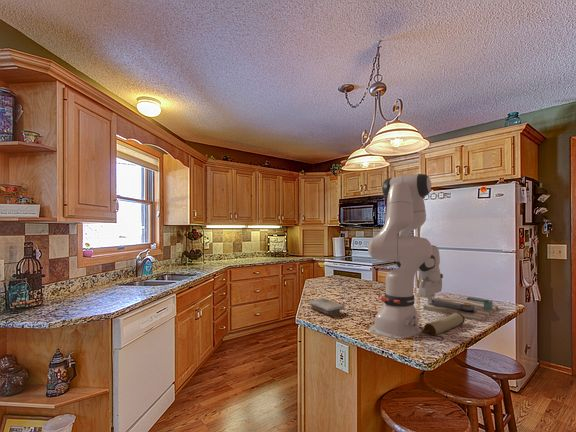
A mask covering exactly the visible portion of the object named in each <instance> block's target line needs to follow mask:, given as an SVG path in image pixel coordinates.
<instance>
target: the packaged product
mask: <svg viewBox="0 0 576 432" xmlns="http://www.w3.org/2000/svg"><path fill="white" fill-rule="evenodd" d="M307 303H308V304H310V305H311V309H312V310H315V311H317V312H320V313H323V314H325V315H327V316H339V315H340V314H341V312H340V311H341V310H345V305H344V304H340V303H338V302H335V301H333V300H329V299H326V298H324V297H321V298H317V299H316V298H315V299H311V300H308V301H307Z"/></svg>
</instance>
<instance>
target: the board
mask: <svg viewBox="0 0 576 432" xmlns="http://www.w3.org/2000/svg"><path fill="white" fill-rule="evenodd" d="M438 300H443V301H449V302H455V303H460V304H464V303H470V305H473V306H474V311H473V312H467V311H463V310H459V309H454V308H449V307H444V306H439V305H433V304H428V303H427V304H426V305H424V306H423V310H426V311H430V312H434V313H439V314H445V315H448V316H449V315H451V314H453V313H460V314H462V315H463V316H464V319H468V320H473V321H477V322H483V321H484V320H485V319H488V318H489V316H491V315H492V314H493V313H494V312H495V311H496V310H498V309H499V308H498V306H499V305H497V304H492V307H493V310H492V311H488V310H484V303H483V302H477V301H471V300H467V299H460V298H457V297H451V296H450V297H449V296H442V297H440V298H439V299H438Z"/></svg>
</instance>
